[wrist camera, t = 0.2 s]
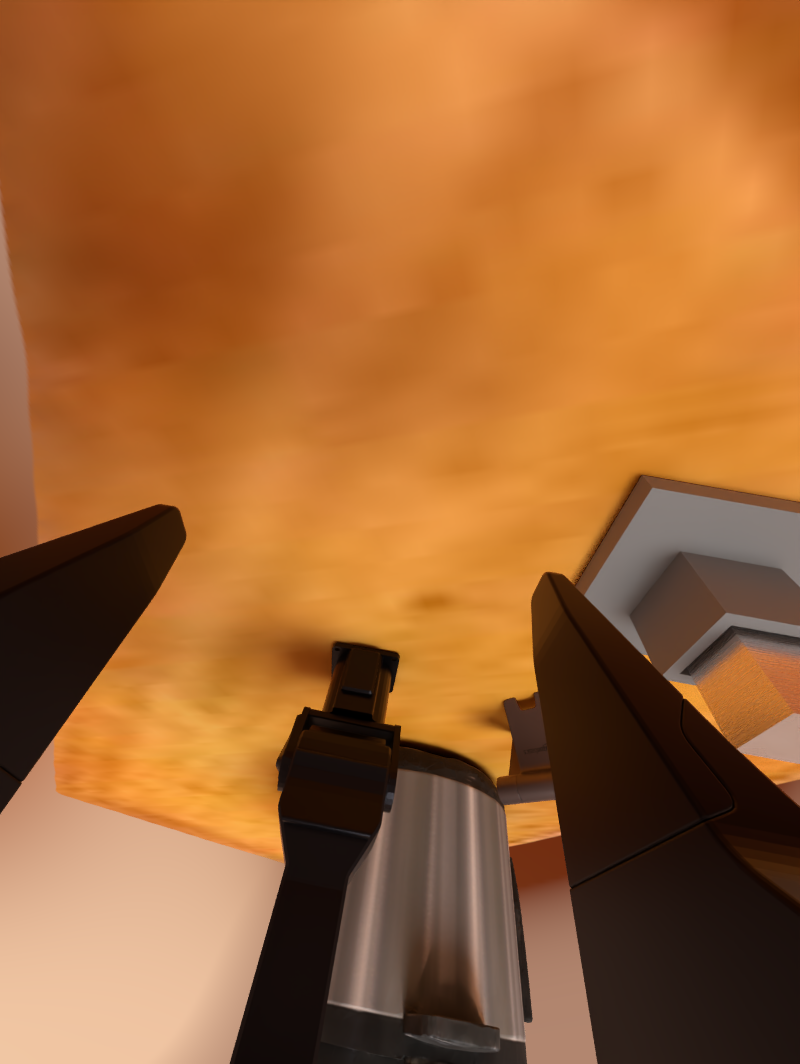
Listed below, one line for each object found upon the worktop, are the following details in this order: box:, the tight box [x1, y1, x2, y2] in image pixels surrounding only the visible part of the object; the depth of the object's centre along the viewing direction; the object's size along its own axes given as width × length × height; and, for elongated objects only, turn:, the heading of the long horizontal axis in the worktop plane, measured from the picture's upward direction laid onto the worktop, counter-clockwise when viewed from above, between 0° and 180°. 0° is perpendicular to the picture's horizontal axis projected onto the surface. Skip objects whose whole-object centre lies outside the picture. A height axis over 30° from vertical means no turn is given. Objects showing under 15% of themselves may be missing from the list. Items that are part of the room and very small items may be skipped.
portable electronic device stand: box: [497, 692, 556, 805], centre depth 36 cm, size 9×8×8 cm
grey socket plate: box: [575, 475, 800, 685], centre depth 24 cm, size 14×14×6 cm
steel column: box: [686, 625, 800, 764], centre depth 21 cm, size 4×4×9 cm
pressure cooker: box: [317, 747, 532, 1064], centre depth 42 cm, size 30×28×32 cm
